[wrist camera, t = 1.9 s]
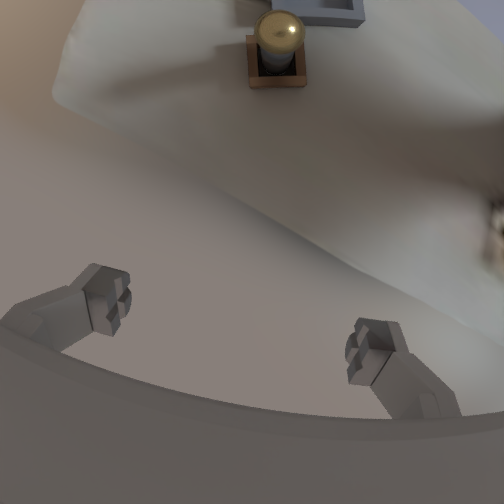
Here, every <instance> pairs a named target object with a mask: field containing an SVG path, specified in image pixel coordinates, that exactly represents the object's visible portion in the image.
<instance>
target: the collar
mask: <svg viewBox="0 0 504 504" xmlns="http://www.w3.org/2000/svg"><path fill="white" fill-rule="evenodd" d="M246 43H247V56H248V71H249V85H250V88H251V89H258V88H281V87H305V86H306V85H307V80H306V65H305V52H304V41H303V43H302V44H301V46H300V47H299V48H298V49H296V50H295V52H294V55H293V63H294V76H270V77H259V66H258V53H257V49H260V45H259V44H258V43H257V41H256V39H255V36H254V35H246Z"/></svg>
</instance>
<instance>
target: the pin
mask: <svg viewBox="0 0 504 504" xmlns="http://www.w3.org/2000/svg"><path fill="white" fill-rule="evenodd" d="M254 36H255V39H256V41H257V43H258V44H259V45H260V48H261V55H262V62H263V67H264V69H265V71H266V72H268V73H269V74H271V75H281V74H283V73H285V72H286V71H287V70H288V67H289V65H290V62H291V60H292V57H293V55H294V52H295V50H296V49H298V48H299V47H300V46H301V44H302V43H303V41H304V38H305V27H304V24H303V22H302V21H301V19H300V18H299V17H298V16H297V15H295V14H294V13H292V12H290V11H287V10H281V9H277V10H271V11H268V12H266V13H264V14H263V15H262V16H260V18H259V19H258V20H257V22H256V24H255V27H254Z"/></svg>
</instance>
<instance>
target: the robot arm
mask: <svg viewBox="0 0 504 504" xmlns="http://www.w3.org/2000/svg"><path fill="white" fill-rule="evenodd" d="M129 284H130V275H129V273H127V272H125V271H121V270H118V269H114V268H110V267H106V266H102V265H99V264H95V263H92V264H90V265H89V266H88V267H87V268H86V269H85V270H84V271H83V272H82V273H81V274H80V275H79V276H78V277H77V278H76V279H75V280H74V281H73V282H72V284H71V285H70V286H63V287H60V288H57V289H55V290H52V291H49V292H46V293H44V294H41V295H38V296H36V297H33V298H30V299H28V300H25V301H23V302H20V303H17V304H15V305H14V306H13V307H12V308H11V309H10V310H9V311H8V312H7V313H6V314H5V315H4V316H3V317H2V319H1V320H0V504H504V411H502V412H495V413H487V414H480V415H470V416H462V415H461V412H460V409H459V405H458V403H457V400H456V397H455V394H454V392H453V391H452V390H451V389H450V388H449V387H448V386H447V385H446V384H445V383H444V382H443V381H442V380H441V379H440V378H439V377H437V376H436V375H435V374H434V373H433V372H432V371H431V370H430V369H429V368H428V367H427V366H426V365H425V364H424V363H422V361H420V360H419V359H418V358H417V357H416V356H415V355H414V354H411V353H409V350H408V347H407V344H406V341H405V339H404V336H403V333H402V330H401V327H400V325H399V323H398V322H393V321H381V320H373V319H366V318H358V320H357V321H356V323H355V325H354V327H355V332H354V333H352V334H351V335H350V336H349V338H348V340H347V344H346V348H345V358H346V361H347V362H348V363H349V364H350V365H349V367H348V369H347V374H348V381H349V384H354V385H362V386H371V387H370V388H371V389H372V391H373V392H374V393H375V395H376V396H377V398H378V399H379V400H380V402H381V403H382V404H383V406H384V407H385V409H386V410H387V412H388V413H389V414H390V416H391V417H392V419H362V418H361V419H360V418H342V417H329V416H317V415H307V414H298V413H290V412H282V411H275V410H268V409H261V408H256V407H249V406H244V405H238V404H233V403H228V402H223V401H218V400H213V399H209V398H204V397H199V396H195V395H191V394H187V393H183V392H179V391H175V390H171V389H167V388H164V387H160V386H156V385H153V384H149V383H146V382H143V381H139V380H136V379H133V378H130V377H126V376H123V375H120V374H117V373H114V372H111V371H108V370H106V369H103V368H100V367H97V366H94V365H92V364H89V363H86V362H84V361H81V360H78V359H76V358H73V357H71V356H68V355H66V354H63V353H61V351H63V350H64V349H66V348H67V347H69V346H71V345H73V344H74V343H76V342H77V341H79V340H81V339H82V338H84V337H85V336H87V335H89V334H91V333H92V332H93V331H94V332H98V333H101V334H104V335H108V336H112V337H113V336H114V335H115V333H116V331H117V330H118V328H119V327H120V325H121V324H120V319H122V318H124V317H126V315H127V314H128V312H129V309H130V306H131V300H132V295H131V291H130V290H129V288H128V287H127V286H128V285H129Z"/></svg>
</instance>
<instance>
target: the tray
mask: <svg viewBox="0 0 504 504" xmlns="http://www.w3.org/2000/svg"><path fill="white" fill-rule="evenodd" d="M271 9H272V10H277V9H281V10H287V11H290V12H292V13H294V14H295V15H297V16H298V17H299V18H300V19H301V21H302V22H303V24H304V25H322V26H340V27H353V28H358V27H359V26H360V25H361V24H362V23H363V22H364V21H365V13H364V5H363V0H271Z"/></svg>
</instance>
